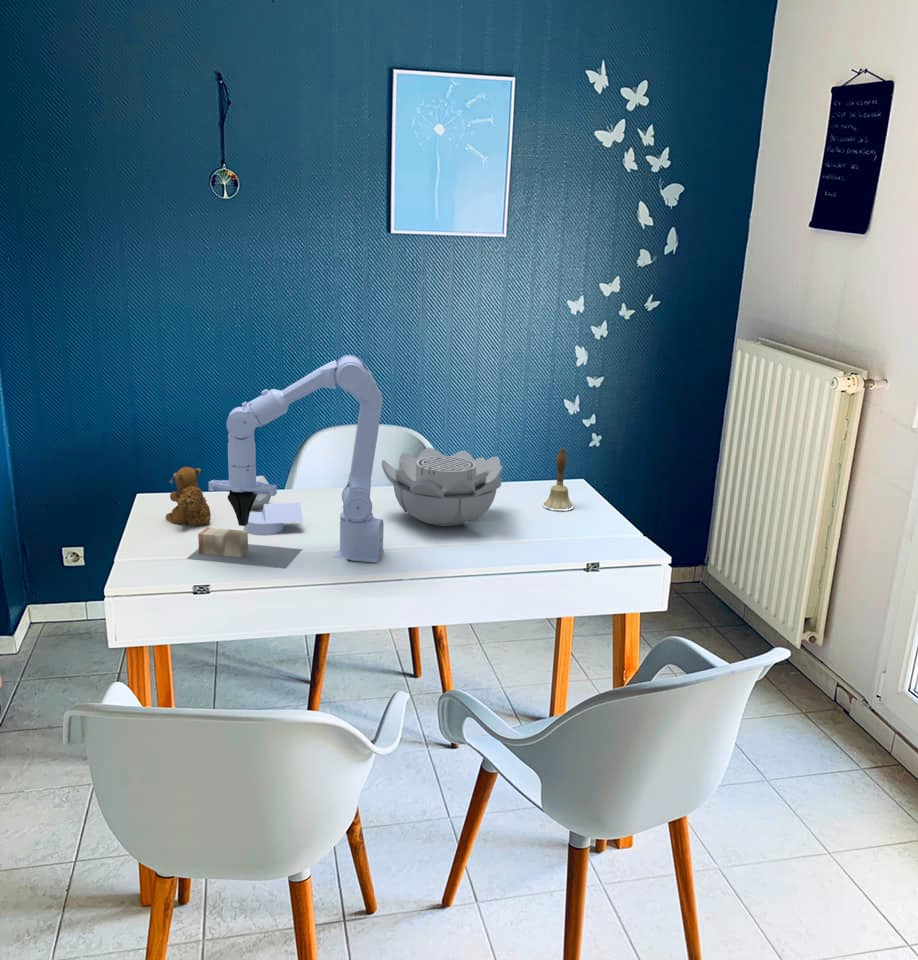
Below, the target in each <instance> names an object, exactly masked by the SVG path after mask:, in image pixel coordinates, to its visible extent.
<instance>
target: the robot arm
mask: <svg viewBox="0 0 918 960" xmlns="http://www.w3.org/2000/svg"><path fill="white" fill-rule="evenodd" d="M336 384H337V385H338V386H339V387H340V388H341V389H342V390H343V391H346V392H347V393H349V394H350V395H352V396H353V398H354V399H355V400H356V401H357V402H358V404H359V409H358V410H359V411H358V418H357V425H356V432H355V438H354V445H353V451H352V452H353V453H352V459H351V466H350V471H349V474H348V480H347V484H346V486H345V487H344V488H343V490H342V493H341V500H342V510H343V511H342V512H340V514H339V516H340V517H339V529H340V530H339V550H338V551H337V552H336V554H335V555H334V558H337V559H345V561H354V562H364V563H374V564H375V563H377V562H378V560H379V559H380V557H381V555H382V554H384V553H383V552H384V551H385V550H384V526H385V525H384V520H383V519H381V518H377V517H375V516H374V513H373V512H372V511H373V502H372V500H371V489H372V488H371V487H372V486H371V485H372V475H373V474H372V473H373V469H374V460H375V456H376V448H377V440H378V434H379V429H380V422H381V416H382V408H383V395H382V393H381V391H380V388H379V387H378V385H377V382H376V381H375V379H374V376H373V375H372V372H371V371H370V369H369V366H367V364H365V362H363V361H362V359H361V358H359V357H357V356H356V355H352V354H346V355H343V356H341V357H340V358H339V359H338V360H336V359H334V360H332V361H330V362H328V363H325V364H324V365H322V366H320V367H318V368H316V369H315V370H314V371H312V372H311V373H308V374H307V375H305V376H304V377H302V378H301V379H299V380H297V381H295V382H294V383H292V384H290V385H288V386H287V387H286V388H284V389H282V390H280V389H275V388H271V389H269V390H268V389H267V388H266V389H265V388H264V389H263V390H262V391H261V395H259V396H258V397H256V398H254V399H252V400H250V401H249V402H247V401H244V402H242V403H241V406H238V407H234V408H232V410H231V411H230V412H229V415H228V416H227V419H226V423H225V424H226V425H225V426H226V429H227V432H228V434H227V439H228V443H227V460H228V461H227V463H228V464H227V466H228V479H226V480H225V479H222V480H221V479H220V480H217V479H212V480H210V481H208V491H209V492H215V491H219V492H220V491H221V492H228V495H227V501H228V502H229V503H230V505H231V506H232V508H233V510H234V513H235V516H236V519H237V523H238V526H239V527H245V526H246V525H247V524H248V519H249V515H250V514H251V510H252V509H251V508H252V505H253V503H254V501H255V499H256V497H257V495H258V494H264V495H269V496H271V497H275V496H276V495H277V493H278V491H277V489H278V488H277V485H276V484H270V483H269V484H265V483H260V482H256V476H257V464H256V463H257V461H256V460H257V459H256V458H257V457H256V455H257V454H256V453H257V452H256V442H255V430H256V428H262V427H264V426H265V425H267V424H268V423H270V422H272V421H274V420H276V419H277V418H279V417H282V416H283V415H285V414H287V412H288V410H289V406H290V404H292V403H295V402H296V401H299V400H300V399H302V398H304V397H306V396H308V395H310V394H312V393H314V392H316V391H318V390H319V389H323V388H326V389H333V390H334V389H335V390H337V386H336Z"/></svg>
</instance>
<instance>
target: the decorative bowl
mask: <svg viewBox="0 0 918 960" xmlns="http://www.w3.org/2000/svg"><path fill="white" fill-rule="evenodd" d="M381 467H382V471H383V472H384V475H385V476H386V478H387V480H389V482H391V484H393V490H394V495H395V499H396V501H397V502H398V504H399V506H400V507H401V509H402V510H403V511H404V512H405V513H409V515H411V516H412V517H414V518H415V519H416V520H419V521H421V522H423V523H426V524H429V525H435V526H443V527H447V526H448V527H449V526H452V527H453V526H459V525H463V524H466V523H473V522H475V521H477V520H479V519H480V518H481V517H483V516H484V514H486V513H487V512H488V510H489V509H490V507H491V506H492V504H493V502H494V500H495V497H496V493H497V490H498V489H499V488H500V487H501V486H502V476H501V475H502V473H503V465H501V461H500V457H498V456H492V457H489V458H487V459H485V457H479V458H478V457H477V458H475V459H474V457H473V456H472V455H471V454H470V453H469V452H468V451H466V450H461V451H458V452H456V453H454V454H453V455H444V454H442V453H441V452H440V451H438V450H437V449H435V448H433V447H426V448H425V449H423V450H421V452H420V453H419V454H418V456H417V458H416V457H414V456H413V455H412V454H410V453H408V452H402V453H401V454H400V456H399V460H398V468H397V469H396V468H395V467H394V466H392V465H391V464H390V463H388V462H387V461H386V460H384V459H382V460H381Z"/></svg>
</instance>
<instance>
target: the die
mask: <svg viewBox="0 0 918 960" xmlns="http://www.w3.org/2000/svg"><path fill="white" fill-rule="evenodd" d="M256 482H260V483H265V484H270V483H269V482H268V480H267V478H266V477H265V476H264V475H256ZM271 497H272V496H269V495H264V494H258V495H257V497H256V499H255V501H254V503H253V505H252V508H251V510H257V509H263V506H264V504H270V500H271Z"/></svg>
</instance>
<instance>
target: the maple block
mask: <svg viewBox="0 0 918 960" xmlns="http://www.w3.org/2000/svg"><path fill="white" fill-rule="evenodd" d="M197 535H198V536H197V538H198V539H197V540H198V549H199V553H201V554H211V555H222V556H232V557H242V556H243V555H244V554H245V553H246V552H247V551H248V544H249V533H248V531H245V530H239V529H229V528H219V527H207V526H206V527H205V528H203V529H202V530H201V531H200V532H198V534H197Z"/></svg>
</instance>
